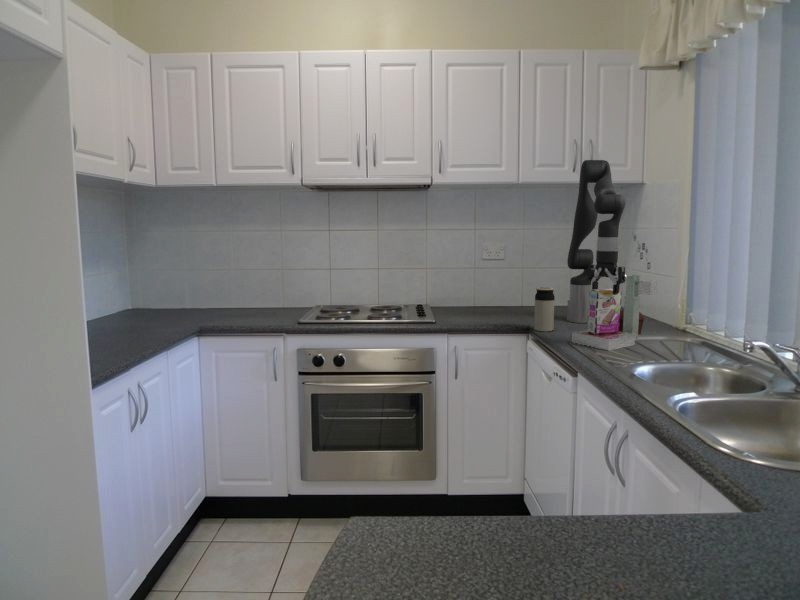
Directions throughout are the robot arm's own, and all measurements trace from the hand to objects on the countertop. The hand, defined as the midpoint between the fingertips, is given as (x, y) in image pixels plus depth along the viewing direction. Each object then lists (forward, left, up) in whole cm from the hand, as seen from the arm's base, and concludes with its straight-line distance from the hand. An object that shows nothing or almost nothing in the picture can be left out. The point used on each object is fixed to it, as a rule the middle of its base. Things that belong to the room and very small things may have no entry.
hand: (605, 293), depth 207 cm
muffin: (-6, +26, -20) cm, 33 cm away
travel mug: (-31, +3, -19) cm, 37 cm away
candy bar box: (0, 0, -15) cm, 15 cm away
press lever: (-3, +16, -1) cm, 16 cm away
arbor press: (0, +5, -19) cm, 20 cm away
